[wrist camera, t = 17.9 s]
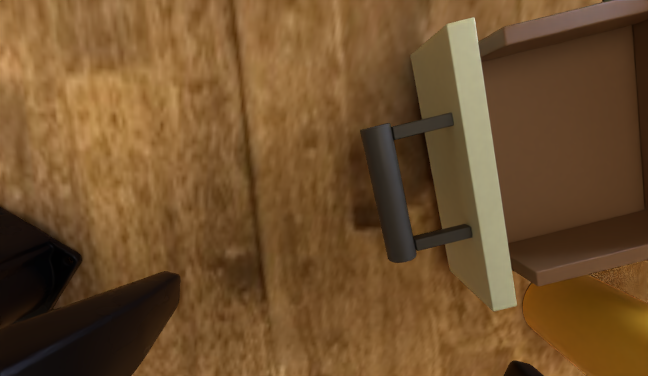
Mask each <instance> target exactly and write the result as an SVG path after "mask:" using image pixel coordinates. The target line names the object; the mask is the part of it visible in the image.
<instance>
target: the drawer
mask: <svg viewBox="0 0 648 376" xmlns="http://www.w3.org/2000/svg"><path fill="white" fill-rule="evenodd" d="M410 56H411V62H412V67H413V73H414V78H415V84H416V89H417V94H418V100H419V105H420V111H421V116H422V119H421V120H417V121H413V122H409V123H405V124H401V125H397V126H393V127H391V124H390V123H387V124H383V125H379V126H374V127H370V128H366V129H362V130H360V132H361V137H362V142H363V146H364V151H365V155H366V160H367V165H368V169H369V174H370V178H371V183H372V187H373V192H374V197H375V201H376V206H377V210H378V215H379V220H380V224H381V229H382V233H383V238H384V243H385V247H386V252H387V256H388V259H389V260H390V261H391V262H395V263H402V262H407V261H410V260H412V259H414V258H415V257H416V250H417V251H419V250H424V249H428V248H432V247H436V246H440V245H444V244H445V247H446V252H447V258H448V263H449V269H450V271H451V272H452V273H453V274H454V275H455V276H456V277H457V278H458V279H459V280H461V281H462V282H463V283H464V284H465V285H466V286H467V287H468V288H469V289H470V290H471V291H472V292H473V293H474V294H475V295H476V296H477V297H478V298H480V299H481V300H482V301H483V302H484V303H485V304H486V305H487V306H488V307H489V308H490V309H491V310H492V311H498V310H502V309H506V308H510V307H514V306H517V302H516V296H515V289H514V282H513V275H512V270H513V271H515V272H516V273H518V274H520V275H521V276H523V277H524V278H526V279H527V280H529V281H530V282H532V283H533V284H535V285H536V286H543V285H547V284H551V283H555V282H559V281H563V280H567V279H571V278H575V277H579V276H583V275H587V274H592V273H596V272H600V271H604V270H608V269H612V268H616V267H620V266H624V265H628V264H632V263H636V262H640V261H644V260H648V0H612V1H608V2H603V3H599V4H595V5H591V6H587V7H583V8H579V9H575V10H571V11H567V12H563V13H558V14H554V15H550V16H546V17H542V18H538V19H534V20H530V21H526V22H522V23H518V24H513V25H509V26H505V27H503V28H501V29H499V30H498V31H496V32H494V33H493V34H491V35H489V36H487V37H486V38H484V39H482V40H481V41H479V42H478V38H477V31H476V25H475V18H469V19H465V20H461V21H457V22H453V23H449V24H446V25H445V26H444V27H443V28H442V29H441V30H439V31H438V32H437V33H436V34H435V35H434V36H432V37H431V38H430V39H429V40H428V41H427V42H425V43H424V44H423V45H422V46H421V47H419V48H418V49H417V50H416V51H415V52H414V53H412V54H411V55H410ZM421 133H425V138H426V144H427V149H428V154H429V160H430V165H431V171H432V176H433V182H434V187H435V193H436V198H437V203H438V209H439V214H440V220H441V225H442V229H441V230H437V231H433V232H429V233H424V234H420V235H416V236H413V234H412V229H411V224H410V219H409V214H408V209H407V204H406V199H405V194H404V189H403V184H402V179H401V174H400V169H399V164H398V159H397V154H396V149H395V144H394V140H396V139H401V138H405V137H409V136H413V135H417V134H421Z"/></svg>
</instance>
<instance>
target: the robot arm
mask: <svg viewBox="0 0 648 376" xmlns="http://www.w3.org/2000/svg"><path fill="white" fill-rule="evenodd" d="M69 258H71V259H72V261H73V262H71V261H70V260H69ZM81 261H82V257H81V256H80V254H79V253H78V252H76V251H74V250H72V249H71V248H69V247H67V246H66V245H64V244H62V243H61V242H59V241H57V240H55V239H54V238H52V237H50V236H49V235H48V234H46V233H44V232H42V231H41V230H39V229H37V228H36V227H34V226H32V225H30V224H29V223H27V222H25V221H24V220H22V219H20V218H19V217H17V216H15V215H13V214H11V213H9V212H8V211H6V210H4V209H3V208H1V207H0V376H131V375H132V374H133V373H134V372H135V370H136V369H137V368H138V366H139V365H140V364H141V362H142V361H143V359H144V358H145V356H146V355H147V353H148V352H149V350H150V349H151V347H152V346H153V344H154V342H155V341H156V339H157V338H158V336H159V335H160V333H161V331H162V330H163V328H164V327H165V325H166V324H167V322H168V320H169V319H170V317H171V316H172V314H173V312H174V311H175V309H176V308H177V305H178V303H179V297H180V282H181V278H180V276H179V275H178V274H176V273H172V272H168V271H164V272H161V273H158V274H155V275H152V276H149V277H146V278H144V279H141V280H138V281H135V282H132V283H129V284H127V285H124V286H121V287H118V288H115V289H112V290H109V291H107V292H104V293H101V294H98V295H95V296H92V297H89V298H87V299H84V300H81V301H78V302H75V303H72V304H69V305H67V306H64V307H61V308H58V309H55V310H52V309H53V307H54V305H55V304H56V302H57V301H58V299H59V297H60V296H61V294H62V293H63V291H64V289H65V288H66V286H67V285H68V283H69V281H70V280H71V278H72V277H73V275H74V273H75V272H76V270H77V269H78V267H79V265H80V264H81ZM51 310H52V311H51ZM504 376H544V375H542V374H541V373H540V372H539V371H538V370H537V369H535V368H534V367H533V366H532V365H530V364H527V363H524V362H520V361H512V362H510V364H509V366H508V368H507V370H506V372H505V374H504Z"/></svg>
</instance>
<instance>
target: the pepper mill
mask: <svg viewBox="0 0 648 376" xmlns="http://www.w3.org/2000/svg"><path fill="white" fill-rule="evenodd" d="M523 315H524V318H525V320H526V323H527V324H528V326H529V327H530V328H531V329H532V330H533V331H534V332H535V333H537V334H538V335H539V336H540V337H541V338H542V339H544V340H545V341H546V342H547V343H548V344H549V345H551V346H552V347H553V348H554V349H555V350H556V351H557V352H559V353H560V354H561V355H562V356H563V357H564V358H566V359H567V360H568V361H569V362H570V363H571V364H573V365H574V366H575V367H576V368H577V369H578V370H580V371H581V372H582V373H583V374H584V375H585V376H648V303H647V302H644V301H642V300H640V299H638V298H636V297H634V296H632V295H630V294H628V293H626V292H624V291H622V290H620V289H618V288H616V287H614V286H612V285H610V284H607V283H605V282H603V281H601V280H599V279H597V278H595V277H593V276H591V275H589V274H587V275H583V276H579V277H575V278H571V279H567V280H563V281H559V282H555V283H551V284H547V285H543V286H536V285H535V284H533V283H531V285H530V286H529V288H528V289H527V291H526V293H525V296H524V299H523Z"/></svg>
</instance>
